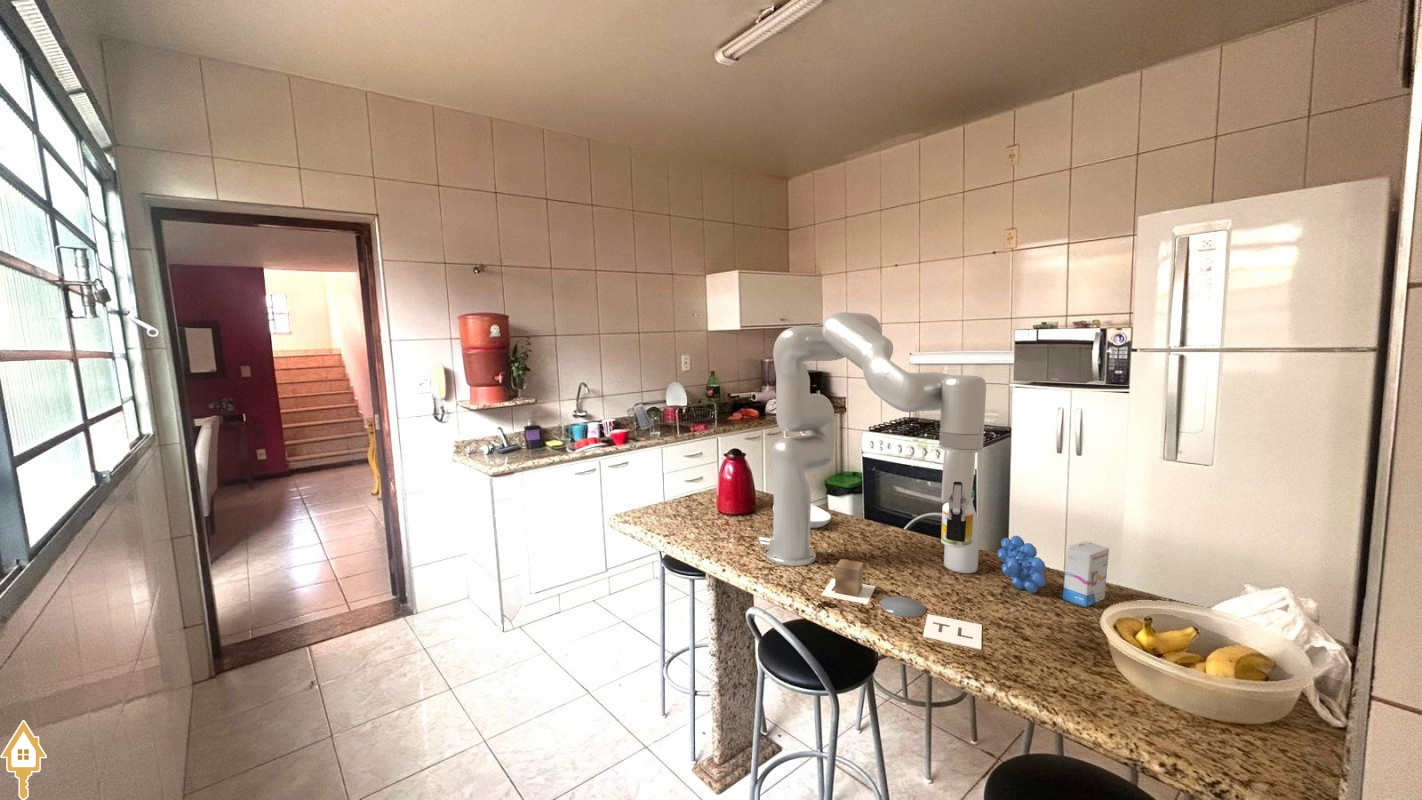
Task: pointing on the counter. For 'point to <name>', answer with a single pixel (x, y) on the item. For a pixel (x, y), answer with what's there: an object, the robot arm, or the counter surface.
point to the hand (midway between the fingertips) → (956, 534)
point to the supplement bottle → (969, 527)
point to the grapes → (1022, 564)
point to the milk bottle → (964, 550)
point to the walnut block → (848, 577)
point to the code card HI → (862, 597)
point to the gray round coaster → (903, 606)
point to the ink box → (1085, 573)
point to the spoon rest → (818, 517)
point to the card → (953, 631)
